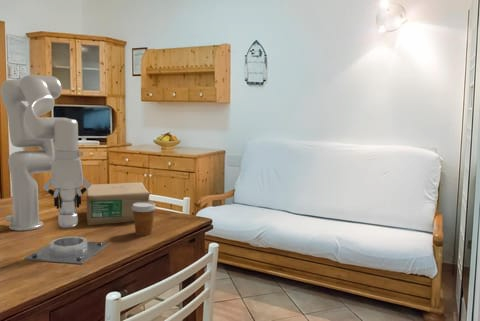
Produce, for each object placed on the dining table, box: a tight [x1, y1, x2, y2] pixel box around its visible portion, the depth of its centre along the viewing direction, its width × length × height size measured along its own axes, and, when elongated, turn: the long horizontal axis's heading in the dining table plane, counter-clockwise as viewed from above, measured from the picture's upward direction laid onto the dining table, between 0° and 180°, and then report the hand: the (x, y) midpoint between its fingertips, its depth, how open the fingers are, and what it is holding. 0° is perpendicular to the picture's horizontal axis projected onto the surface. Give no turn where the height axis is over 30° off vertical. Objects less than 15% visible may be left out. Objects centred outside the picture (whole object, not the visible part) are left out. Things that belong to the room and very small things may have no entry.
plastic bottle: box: [57, 180, 79, 229], centre depth 145 cm, size 6×7×20 cm
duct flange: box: [24, 235, 109, 265], centre depth 147 cm, size 20×20×4 cm
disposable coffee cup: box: [132, 201, 157, 236], centre depth 171 cm, size 10×10×12 cm
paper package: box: [85, 182, 151, 226], centre depth 196 cm, size 27×26×14 cm
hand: (67, 207), depth 146 cm, fingers closed on plastic bottle, 5 cm apart
